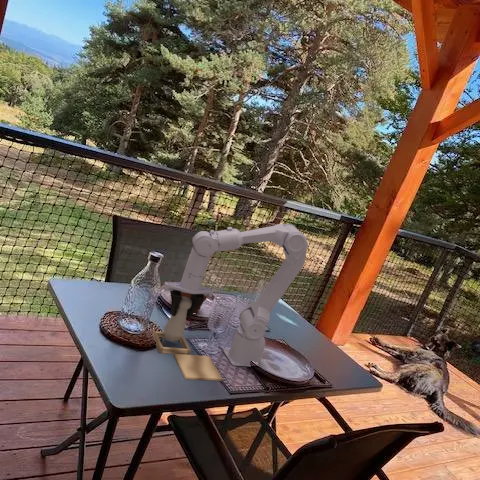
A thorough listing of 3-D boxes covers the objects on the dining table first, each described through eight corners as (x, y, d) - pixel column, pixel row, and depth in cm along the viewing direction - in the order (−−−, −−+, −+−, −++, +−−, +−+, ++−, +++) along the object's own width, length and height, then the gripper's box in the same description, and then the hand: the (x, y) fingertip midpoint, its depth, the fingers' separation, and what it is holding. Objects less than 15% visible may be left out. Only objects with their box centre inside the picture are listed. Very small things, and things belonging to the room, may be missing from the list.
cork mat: (208, 358, 135) (209, 356, 135) (222, 380, 126) (222, 378, 125) (173, 355, 130) (174, 353, 129) (185, 379, 120) (185, 377, 120)
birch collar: (180, 338, 141) (181, 333, 140) (189, 355, 133) (190, 350, 132) (151, 335, 136) (153, 331, 136) (159, 352, 128) (160, 348, 128)
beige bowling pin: (177, 345, 131) (192, 305, 128) (159, 337, 131) (173, 297, 128) (183, 338, 136) (197, 299, 134) (165, 330, 137) (179, 291, 134)
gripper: (212, 270, 136) (198, 311, 139) (166, 263, 129) (153, 305, 132) (220, 280, 130) (206, 322, 133) (173, 273, 123) (159, 317, 126)
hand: (180, 315), depth 132 cm, fingers closed on beige bowling pin, 4 cm apart
